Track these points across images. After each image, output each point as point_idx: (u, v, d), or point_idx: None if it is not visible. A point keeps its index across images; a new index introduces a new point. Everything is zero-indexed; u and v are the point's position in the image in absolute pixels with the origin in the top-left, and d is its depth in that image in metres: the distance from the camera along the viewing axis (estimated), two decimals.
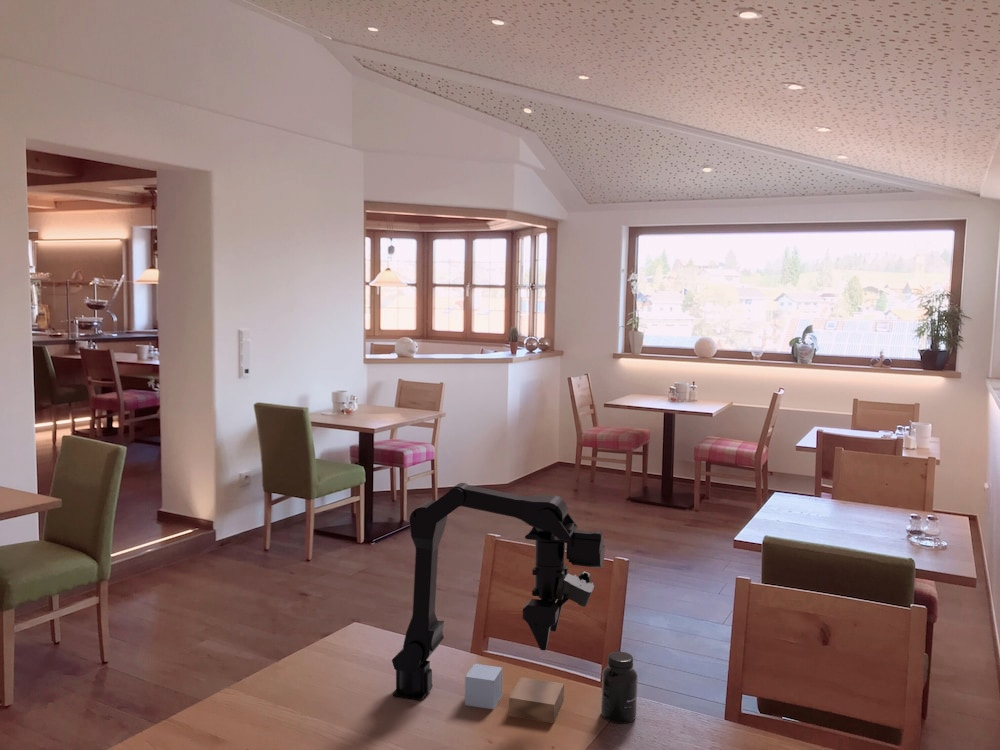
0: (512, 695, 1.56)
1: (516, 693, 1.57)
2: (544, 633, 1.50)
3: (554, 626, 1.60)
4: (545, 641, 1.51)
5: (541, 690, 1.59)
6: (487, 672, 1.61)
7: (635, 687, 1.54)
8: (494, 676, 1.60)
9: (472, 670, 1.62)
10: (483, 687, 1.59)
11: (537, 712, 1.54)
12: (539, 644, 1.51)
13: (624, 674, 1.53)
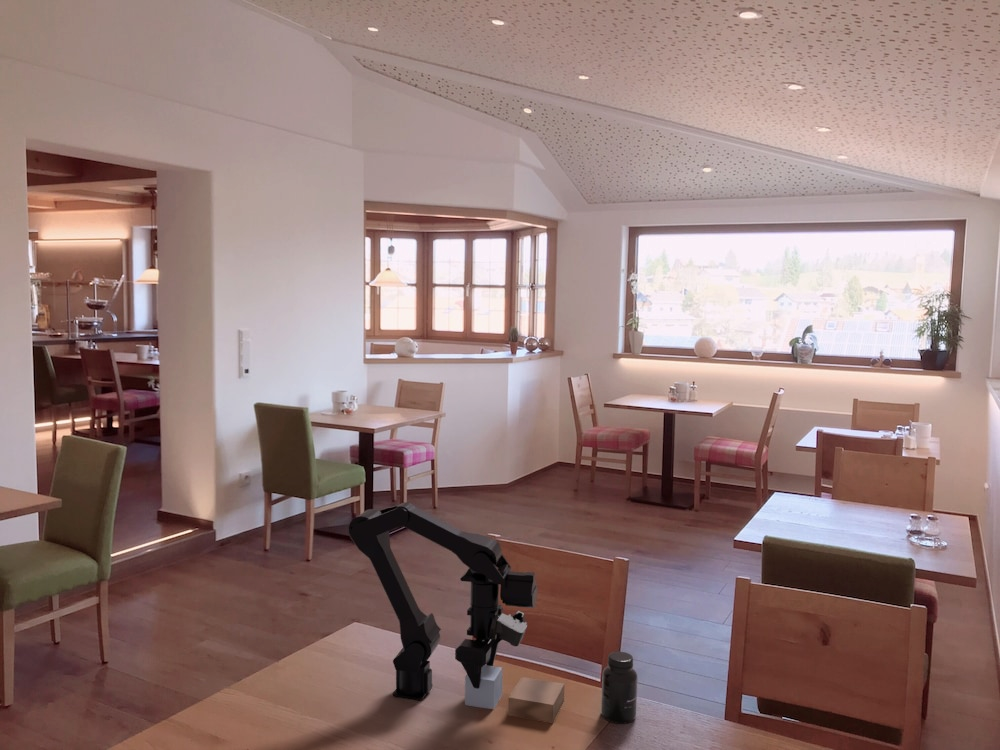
0: (511, 695, 1.57)
1: (515, 693, 1.57)
2: (477, 672, 1.56)
3: (490, 663, 1.66)
4: (478, 680, 1.56)
5: (541, 690, 1.58)
6: (487, 672, 1.61)
7: (635, 687, 1.54)
8: (494, 676, 1.60)
9: None
10: (483, 687, 1.58)
11: (536, 712, 1.54)
12: (472, 682, 1.57)
13: (624, 674, 1.53)
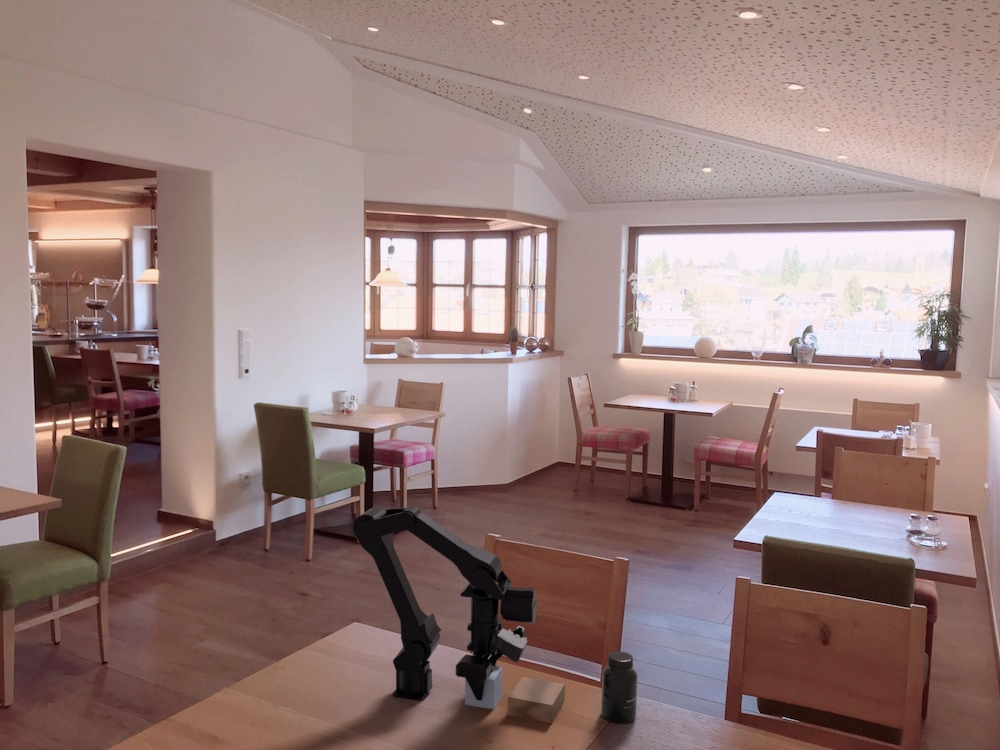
0: (511, 694, 1.57)
1: (515, 692, 1.58)
2: (479, 684, 1.57)
3: None
4: (481, 692, 1.58)
5: (541, 690, 1.58)
6: None
7: (635, 687, 1.54)
8: (494, 675, 1.60)
9: None
10: None
11: (536, 712, 1.54)
12: (475, 695, 1.58)
13: (624, 674, 1.53)
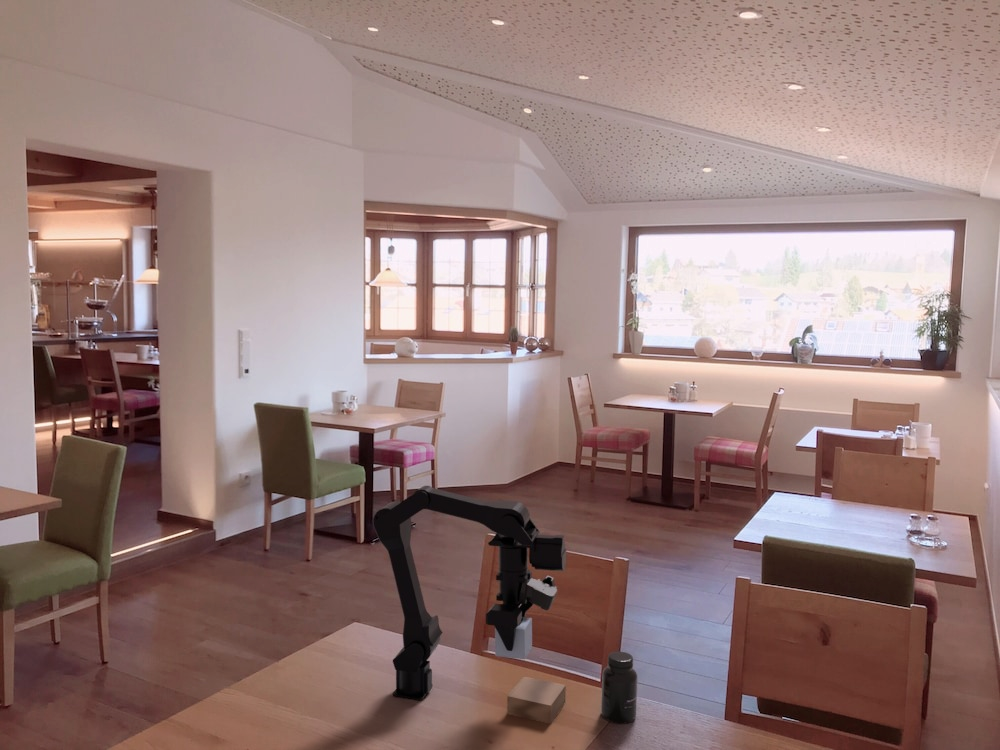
0: (511, 694, 1.57)
1: (515, 692, 1.58)
2: (510, 634, 1.55)
3: None
4: (511, 642, 1.55)
5: (541, 691, 1.58)
6: None
7: (635, 687, 1.54)
8: (524, 625, 1.57)
9: None
10: None
11: (534, 712, 1.54)
12: (505, 645, 1.56)
13: (624, 674, 1.53)
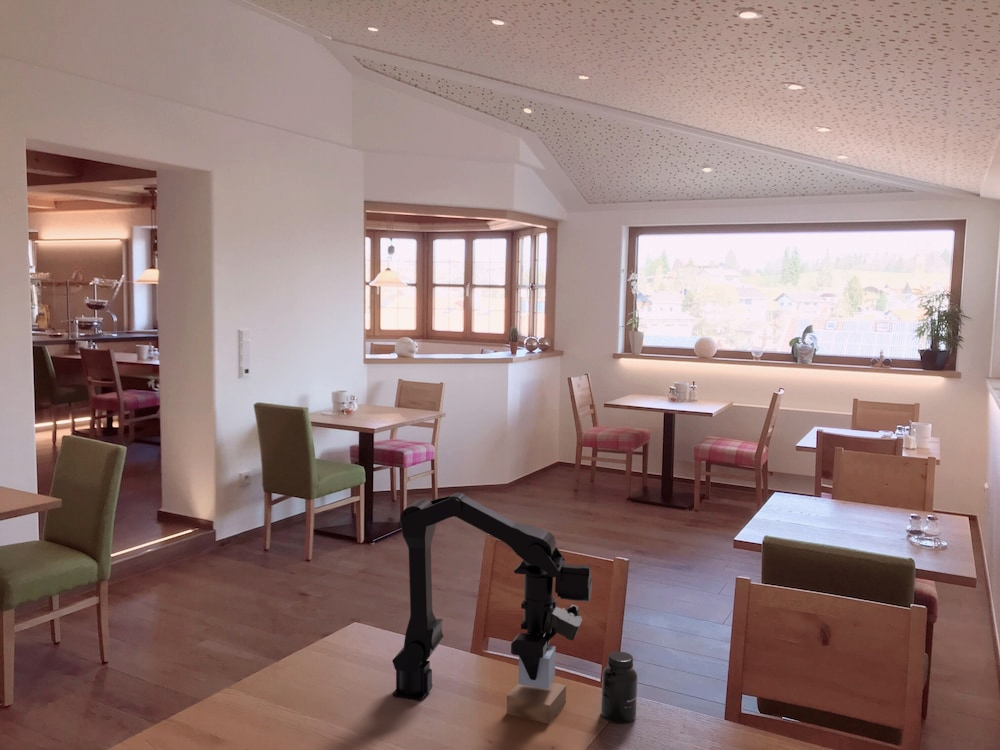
0: (510, 693, 1.57)
1: (515, 691, 1.58)
2: (534, 663, 1.54)
3: None
4: (535, 671, 1.54)
5: (541, 691, 1.58)
6: None
7: (635, 687, 1.54)
8: (549, 654, 1.56)
9: None
10: None
11: (534, 712, 1.54)
12: (529, 674, 1.55)
13: (624, 674, 1.53)
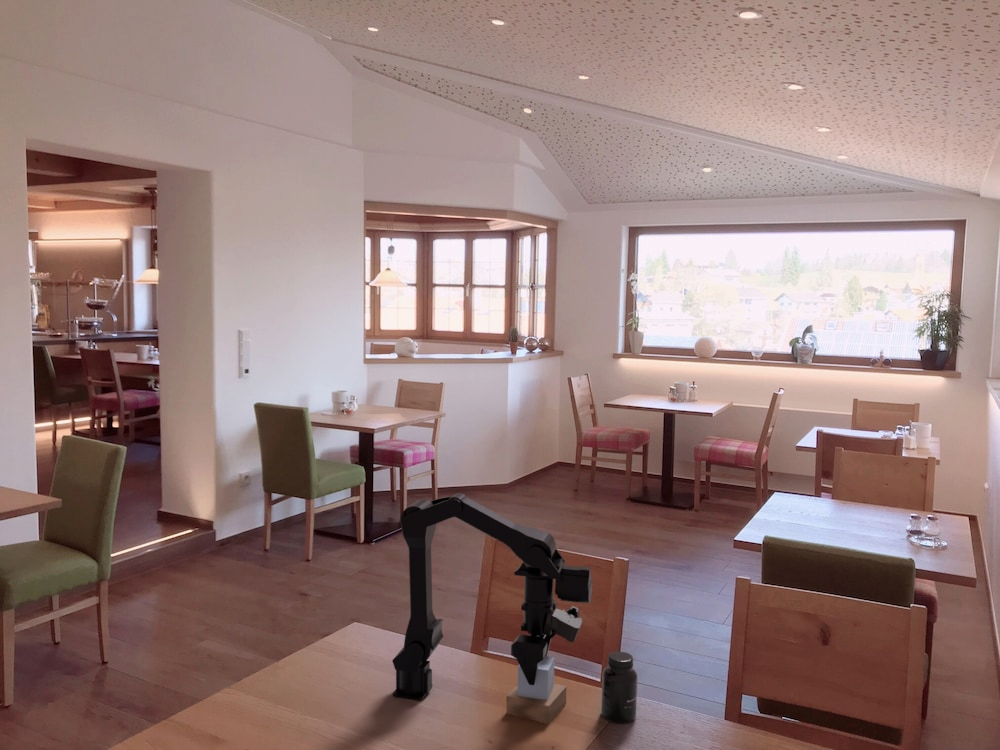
0: (510, 693, 1.57)
1: (515, 692, 1.58)
2: (532, 668, 1.52)
3: None
4: (533, 676, 1.53)
5: None
6: (540, 661, 1.58)
7: (635, 687, 1.54)
8: (548, 665, 1.56)
9: None
10: (536, 676, 1.55)
11: (533, 712, 1.54)
12: (527, 679, 1.53)
13: (624, 674, 1.53)
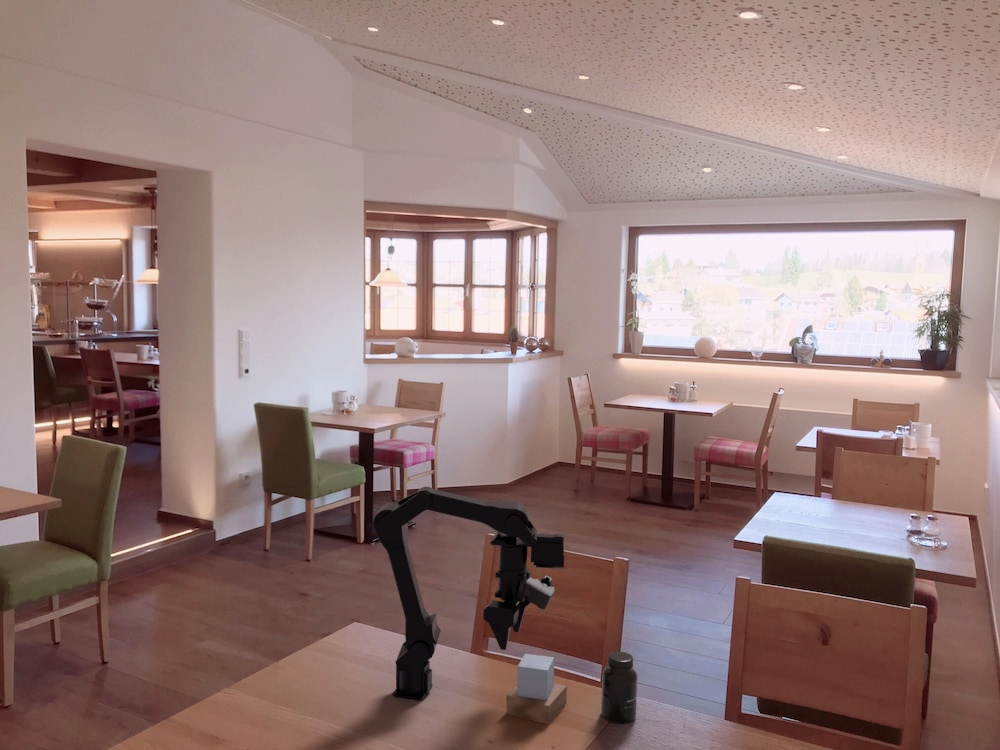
0: (510, 693, 1.57)
1: (515, 691, 1.58)
2: (504, 633, 1.57)
3: (517, 627, 1.67)
4: (505, 641, 1.58)
5: None
6: (539, 662, 1.58)
7: (635, 687, 1.54)
8: (547, 665, 1.56)
9: (524, 660, 1.58)
10: (536, 676, 1.55)
11: (533, 712, 1.54)
12: (499, 644, 1.58)
13: (624, 674, 1.53)
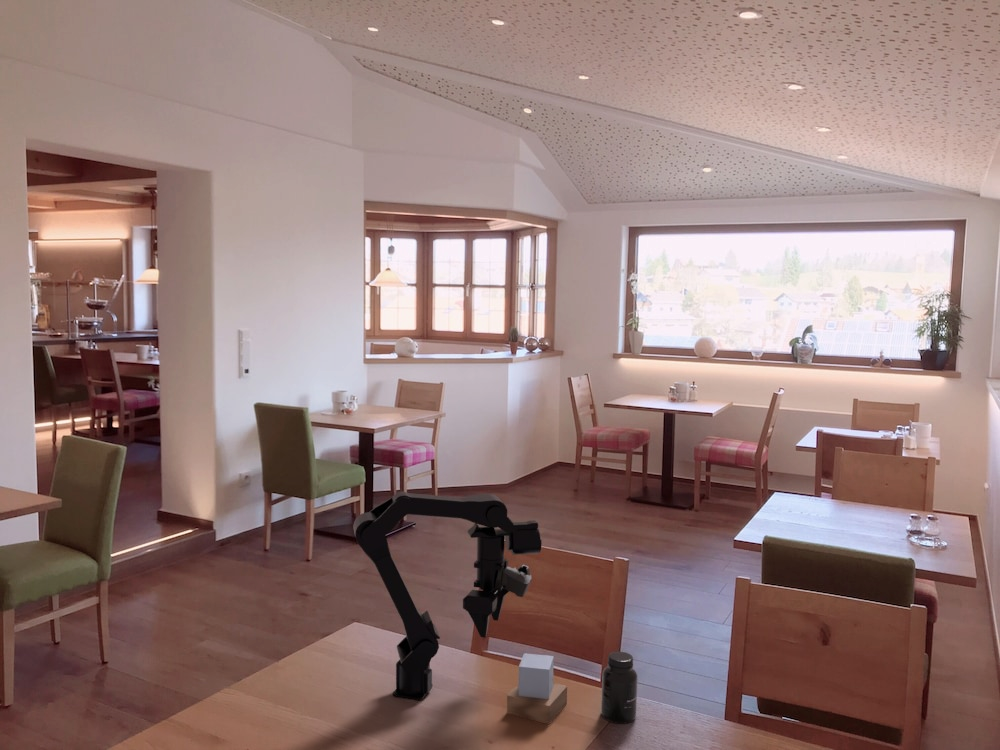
0: (511, 693, 1.57)
1: (515, 691, 1.58)
2: (483, 621, 1.62)
3: (496, 616, 1.72)
4: (485, 629, 1.62)
5: None
6: (540, 661, 1.58)
7: (635, 687, 1.54)
8: (548, 665, 1.57)
9: (524, 660, 1.59)
10: (537, 676, 1.55)
11: (533, 712, 1.54)
12: (479, 632, 1.63)
13: (624, 674, 1.53)
